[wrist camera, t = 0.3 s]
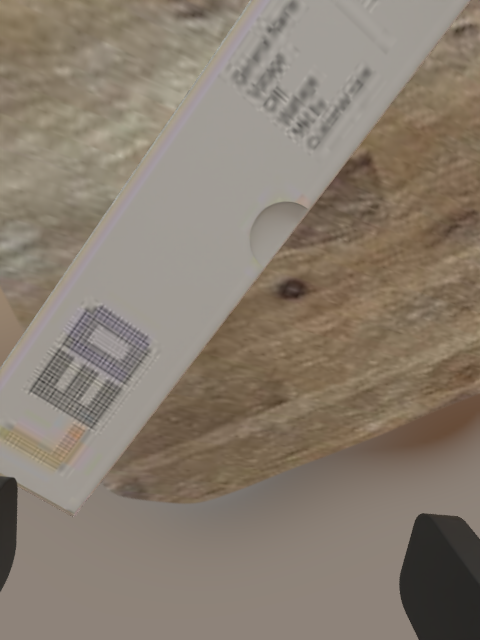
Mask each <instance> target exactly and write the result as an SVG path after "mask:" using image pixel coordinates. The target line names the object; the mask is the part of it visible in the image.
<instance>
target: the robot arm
mask: <svg viewBox="0 0 480 640" xmlns="http://www.w3.org/2000/svg"><path fill="white" fill-rule="evenodd" d="M16 530H17V481H16V479H15V478H14V477H4V476H0V591H1V590H2V588H3V586H4V584H5V582H6V580H7V578H8V575H9V573H10V570H11V567H12V564H13V560H14V556H15V550H16ZM399 585H400V595H401V600H402V604H403V607H404V609H405V611H406V614H407V616H408V618H409V620H410V622H411V624H412V626H413V628H414V630H415V632H416V635H417V637H418V639H419V640H480V539H479V538H478V537H477V535H476V534H475V533H474V532H473V530H472V529H471V528H470V527H469V525H468V524H467V523H466V522H465V521H464V520H463V519H462V518H460V517H458V516H448V515H436V514H424V513H423V514H420V515H419V516H418V517H417V518H416V520H415V523H414V526H413V530H412V534H411V537H410V541H409V544H408V548H407V552H406V555H405V559H404V562H403V566H402V570H401V573H400V584H399Z"/></svg>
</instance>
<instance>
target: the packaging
mask: <svg viewBox="0 0 480 640" xmlns="http://www.w3.org/2000/svg"><path fill="white" fill-rule="evenodd" d="M470 1H471V0H250V2H249V3H248V5H247V6H246V8H245V9H244V11H243V12H242V14H241V15H240V17H239V18H238V19H237V21H236V22H235V24H234V25H233V27H232V28H231V30H230V31H229V33H228V34H227V36H226V37H225V39H224V40H223V42H222V43H221V44H220V46H219V47H218V49H217V50H216V52H215V53H214V55H213V56H212V58H211V59H210V61H209V62H208V64H207V65H206V66H205V68H204V69H203V71H202V72H201V74H200V75H199V77H198V78H197V80H196V81H195V83H194V84H193V86H192V87H191V88H190V90H189V91H188V93H187V94H186V96H185V97H184V99H183V100H182V102H181V103H180V105H179V106H178V108H177V109H176V111H175V112H174V113H173V115H172V116H171V118H170V119H169V121H168V122H167V124H166V125H165V127H164V128H163V130H162V131H161V133H160V134H159V135H158V137H157V138H156V140H155V141H154V143H153V144H152V146H151V147H150V149H149V150H148V152H147V153H146V155H145V156H144V157H143V159H142V160H141V162H140V163H139V165H138V166H137V168H136V169H135V171H134V172H133V174H132V175H131V177H130V178H129V180H128V181H127V182H126V184H125V185H124V187H123V188H122V190H121V191H120V193H119V194H118V196H117V197H116V199H115V200H114V202H113V203H112V204H111V206H110V207H109V209H108V210H107V212H106V213H105V215H104V216H103V218H102V219H101V221H100V222H99V224H98V225H97V226H96V228H95V229H94V231H93V232H92V234H91V235H90V237H89V238H88V240H87V241H86V243H85V244H84V246H83V247H82V249H81V250H80V251H79V253H78V254H77V256H76V257H75V259H74V260H73V262H72V263H71V265H70V266H69V268H68V269H67V271H66V272H65V273H64V275H63V276H62V278H61V279H60V281H59V282H58V284H57V285H56V287H55V288H54V290H53V291H52V293H51V294H50V295H49V297H48V298H47V300H46V301H45V303H44V304H43V306H42V307H41V309H40V310H39V312H38V313H37V315H36V316H35V318H34V319H33V320H32V322H31V323H30V325H29V326H28V328H27V329H26V331H25V332H24V334H23V335H22V337H21V338H20V340H19V341H18V342H17V344H16V345H15V347H14V348H13V350H12V351H11V353H10V354H9V356H8V357H7V359H6V360H5V362H4V363H3V364H2V366H1V368H0V476H4V477H14V478H15V479H16V481H17V486H18V487H20V488H21V489H23V490H25V491H27V492H29V493H30V494H32V495H34V496H36V497H38V498H40V499H41V500H43V501H45V502H47V503H49V504H50V505H52V506H54V507H56V508H58V509H59V510H61V511H63V512H65V513H67V514H68V515H70V516H72V517H73V516H76V514H77V513H78V511H79V510H80V509H81V507H82V506H83V505H84V503H85V502H86V501H87V499H88V498H89V497H90V496H91V494H92V493H93V492H94V490H95V489H96V488H97V486H98V485H99V484H100V483H101V481H102V480H103V479H104V477H105V476H106V475H107V473H108V472H109V471H110V470H111V468H112V467H113V466H114V464H115V463H116V462H117V460H118V459H119V458H120V457H121V455H122V454H123V453H124V451H125V450H126V449H127V447H128V446H129V445H130V444H131V442H132V441H133V440H134V438H135V437H136V436H137V434H138V433H139V432H140V431H141V429H142V428H143V427H144V425H145V424H146V423H147V421H148V420H149V419H150V418H151V416H152V415H153V414H154V412H155V411H156V410H157V408H158V407H159V406H160V404H161V403H162V402H163V401H164V399H165V398H166V397H167V395H168V394H169V393H170V391H171V390H172V389H173V388H174V386H175V385H176V384H177V382H178V381H179V380H180V378H181V377H182V376H183V375H184V373H185V372H186V371H187V369H188V368H189V367H190V365H191V364H192V363H193V362H194V360H195V359H196V358H197V356H198V355H199V354H200V352H201V351H202V350H203V349H204V347H205V346H206V345H207V343H208V342H209V341H210V339H211V338H212V337H213V336H214V334H215V333H216V332H217V330H218V329H219V328H220V326H221V325H222V324H223V322H224V321H225V320H226V319H227V317H228V316H229V315H230V313H231V312H232V311H233V309H234V308H235V307H236V306H237V304H238V303H239V302H240V300H241V299H242V298H243V296H244V295H245V294H246V293H247V291H248V290H249V289H250V287H251V286H252V285H253V283H254V282H255V281H256V280H257V278H258V277H259V276H260V274H261V273H262V272H263V270H264V269H265V268H266V267H267V265H268V264H269V263H270V261H271V260H272V259H273V257H274V256H275V255H276V254H277V252H278V251H279V250H280V248H281V247H282V246H283V244H284V243H285V242H286V241H287V239H288V238H289V237H290V235H291V234H292V233H293V231H294V230H295V229H296V227H297V226H298V225H299V224H300V222H301V221H302V220H303V218H304V217H305V216H306V214H307V213H308V212H309V211H310V209H311V208H312V207H313V205H314V204H315V203H316V201H317V200H318V199H319V198H320V196H321V195H322V194H323V192H324V191H325V190H326V188H327V187H328V186H329V185H330V183H331V182H332V181H333V179H334V178H335V177H336V175H337V174H338V173H339V172H340V170H341V169H342V168H343V166H344V165H345V164H346V162H347V161H348V160H349V159H350V157H351V156H352V155H353V153H354V152H355V151H356V149H357V148H358V147H359V145H360V144H361V143H362V142H363V140H364V139H365V138H366V136H367V135H368V134H369V132H370V131H371V130H372V129H373V127H374V126H375V125H376V123H377V122H378V121H379V119H380V118H381V117H382V116H383V114H384V113H385V112H386V110H387V109H388V108H389V106H390V105H391V104H392V103H393V101H394V100H395V99H396V97H397V96H398V95H399V93H400V92H401V91H402V90H403V88H404V87H405V86H406V84H407V83H408V82H409V80H410V79H411V78H412V77H413V75H414V74H415V73H416V71H417V70H418V69H419V67H420V66H421V65H422V63H423V62H424V61H425V60H426V58H427V57H428V56H429V54H430V53H431V52H432V50H433V49H434V48H435V47H436V45H437V44H438V43H439V41H440V40H441V39H442V37H443V36H444V35H445V34H446V32H447V31H448V30H449V28H450V27H451V26H452V24H453V23H454V22H455V21H456V19H457V18H458V17H459V15H460V14H461V13H462V11H463V10H464V9H465V8H466V6H467V5H468V4H469V2H470Z"/></svg>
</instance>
